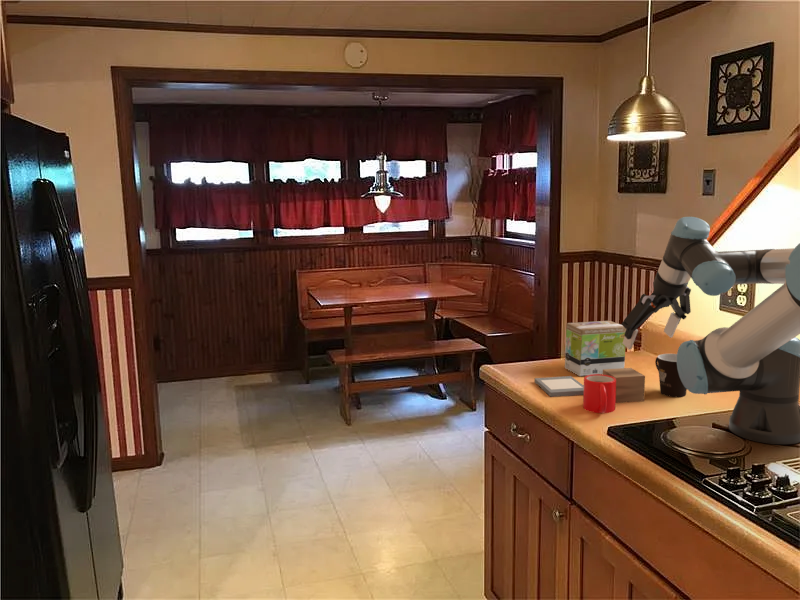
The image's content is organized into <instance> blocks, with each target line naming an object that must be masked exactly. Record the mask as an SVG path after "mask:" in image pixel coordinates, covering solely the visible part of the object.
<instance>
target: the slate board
mask: <svg viewBox="0 0 800 600" xmlns="http://www.w3.org/2000/svg"><path fill="white" fill-rule="evenodd" d="M534 383H535V384H536V385H537V384H538V385H539V386H540V387H541V388H540V387H539V386H538V385H537V386H538V387H539V388H540V389H541V390H542V391H544V392H545V393H546V394H547V395H548V396H549V397H553V398H554V397H567V396H568V397H570V396H583V394H584V384H582V383H581V382H580V381H579V380H577V379H576V378H574V377H573V376H571V375H569V376H568V375H567V376H552V377H550V376H548V377H535V378H534Z"/></svg>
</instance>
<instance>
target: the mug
mask: <svg viewBox="0 0 800 600" xmlns="http://www.w3.org/2000/svg"><path fill="white" fill-rule="evenodd" d="M583 385H584V394H583V395H582V396H583V399H582V400H583V401H582V402H583V404H582V405H583V406H582V407H583V409H584V410H585V411H587V412H590V413H597V414H609V413H614V412H615V411H616V404H617V403H616V379H615V378H614V377H612V376H608V375H603V374H592V375H585V376H584V377H583Z"/></svg>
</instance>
